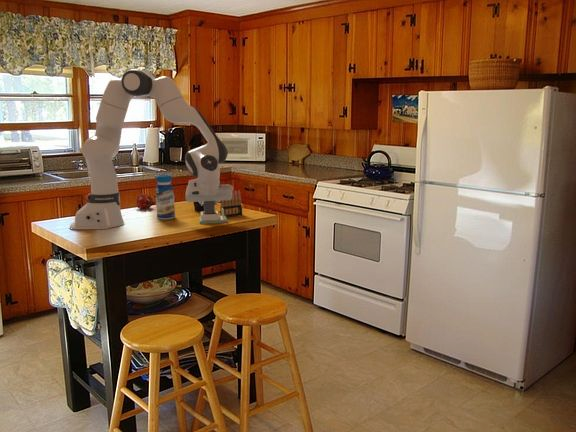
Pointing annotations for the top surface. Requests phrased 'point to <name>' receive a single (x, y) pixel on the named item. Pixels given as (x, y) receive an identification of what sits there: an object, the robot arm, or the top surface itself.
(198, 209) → the coffee mug
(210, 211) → the plug
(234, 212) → the ammunition clip
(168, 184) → the blue and white bottle
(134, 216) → the top surface
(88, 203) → the robot arm
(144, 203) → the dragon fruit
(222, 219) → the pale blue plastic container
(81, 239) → the top surface
